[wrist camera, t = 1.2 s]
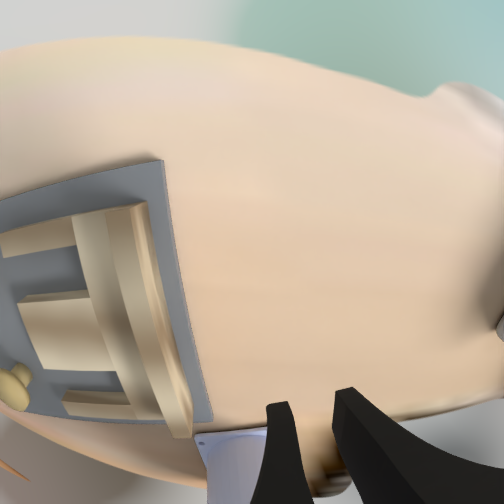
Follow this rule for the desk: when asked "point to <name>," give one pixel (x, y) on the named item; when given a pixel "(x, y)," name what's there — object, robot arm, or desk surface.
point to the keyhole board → (72, 279)
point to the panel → (108, 316)
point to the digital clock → (501, 329)
